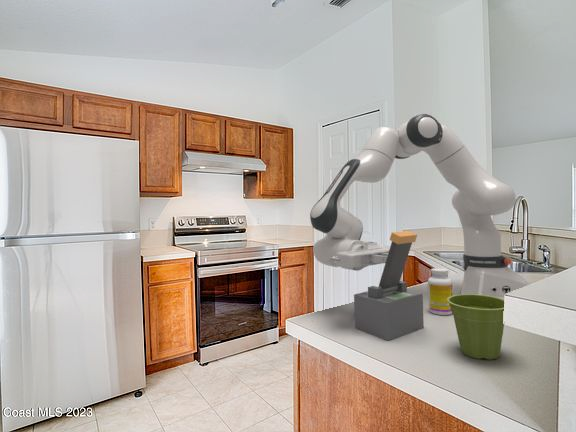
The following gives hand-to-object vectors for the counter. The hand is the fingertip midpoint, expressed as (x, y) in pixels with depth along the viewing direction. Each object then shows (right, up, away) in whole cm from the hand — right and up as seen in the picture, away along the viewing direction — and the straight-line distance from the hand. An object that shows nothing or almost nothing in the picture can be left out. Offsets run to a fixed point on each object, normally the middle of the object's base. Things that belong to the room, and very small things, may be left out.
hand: (392, 259), depth 85 cm
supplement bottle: (+19, -18, +13) cm, 29 cm away
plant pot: (+14, -18, -15) cm, 27 cm away
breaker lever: (-1, -8, +2) cm, 8 cm away
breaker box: (0, -18, +2) cm, 18 cm away
